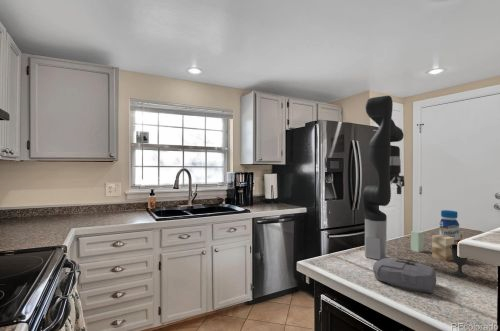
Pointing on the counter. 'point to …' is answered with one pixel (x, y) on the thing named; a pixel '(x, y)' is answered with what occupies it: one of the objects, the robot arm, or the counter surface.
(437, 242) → the tower top
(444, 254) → the tower bottom
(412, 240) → the sage block
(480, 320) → the counter surface
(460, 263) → the sundae
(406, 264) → the grey rounded bag
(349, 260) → the counter surface
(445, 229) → the beverage bottle
